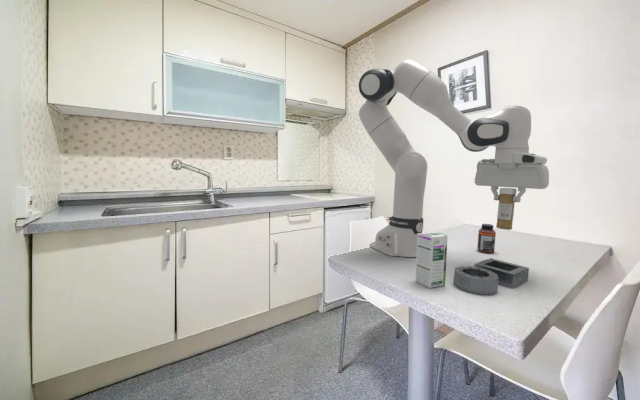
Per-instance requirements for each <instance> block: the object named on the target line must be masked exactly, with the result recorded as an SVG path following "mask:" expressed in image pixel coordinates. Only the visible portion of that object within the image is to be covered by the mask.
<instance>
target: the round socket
mask: <svg viewBox="0 0 640 400" xmlns="http://www.w3.org/2000/svg"><path fill="white" fill-rule="evenodd" d="M453 273H454V274H453V285H454V286H455V287H457V289H459V290H461V291H464V292H467V293H470V294H476V295H481V296H482V295H483V296H485V295H488V296H491V295H495V294H497V293H498V290H499V288H498V287H499V284H498V279H499V278H498V275H497V274H495V273H494V272H492V271H489V270H486V269H482V268H478V267H474V266H470V265H469V266H468V265H464V266H463V265H461V266H460V265H459V266H456V267H454V272H453Z"/></svg>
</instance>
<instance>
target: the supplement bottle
mask: <svg viewBox="0 0 640 400" xmlns="http://www.w3.org/2000/svg"><path fill="white" fill-rule="evenodd" d="M496 234H497V233H496V231H495V230H494V224H492V223H491V224H490V223H482V224H481V227H480V229H479V230H478V235H477V247H476V248H477V251H478V252H480V253H482V254H493V253H494V252H495V246H496Z"/></svg>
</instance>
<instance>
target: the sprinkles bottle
mask: <svg viewBox="0 0 640 400" xmlns="http://www.w3.org/2000/svg"><path fill="white" fill-rule="evenodd" d="M498 192H499V193H498V194H499V195H500V198H499V201H498V207H497V215H496V216H497V219H496V225H495V228H497V229H500V230H507V231H511V230H513V221H514V216H515V203H516V202H513V196H517V188H514V187H499V191H498Z"/></svg>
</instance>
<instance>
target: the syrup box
mask: <svg viewBox="0 0 640 400" xmlns="http://www.w3.org/2000/svg"><path fill="white" fill-rule="evenodd" d="M447 251H448V235H447V234H445V233H442V232H439V231H438V232H437V231H429V232H422V233H418V235H417V257H416V261H415V263H416V265H415V281H416V282H417V283H418V284H420V285H423V286H424V287H427V288H428V289H432V288H436V287H437V288H438V287H442V286H446V276H447V275H446V273H447V258H448V257H447V256H448V255H447V253H448V252H447Z"/></svg>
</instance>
